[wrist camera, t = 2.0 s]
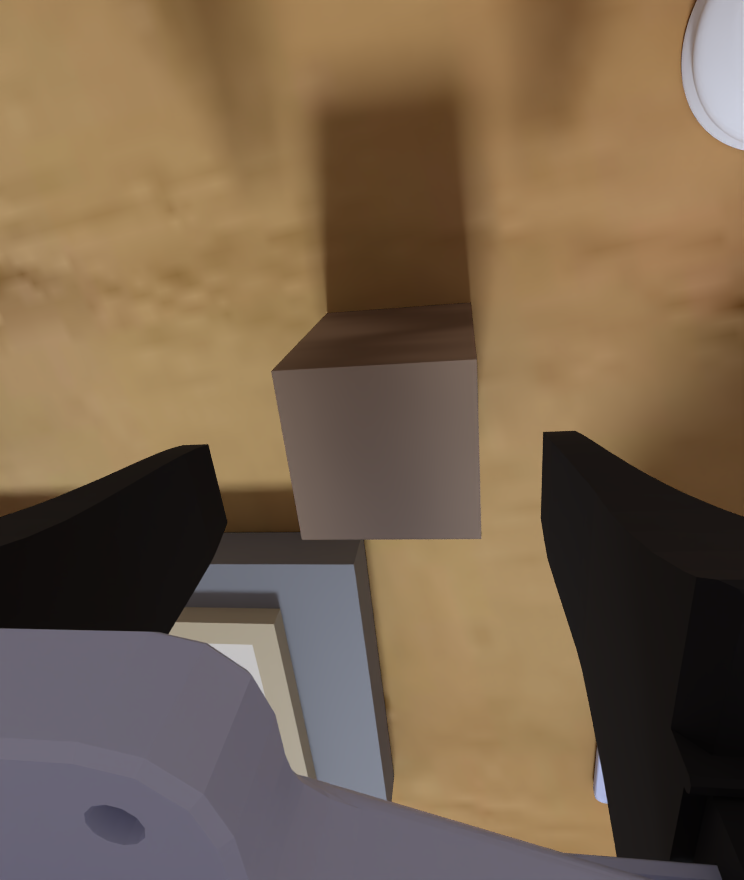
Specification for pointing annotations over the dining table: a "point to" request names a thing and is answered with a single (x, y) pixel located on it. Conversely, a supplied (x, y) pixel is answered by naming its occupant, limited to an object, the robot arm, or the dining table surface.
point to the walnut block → (384, 425)
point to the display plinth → (302, 648)
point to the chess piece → (716, 68)
